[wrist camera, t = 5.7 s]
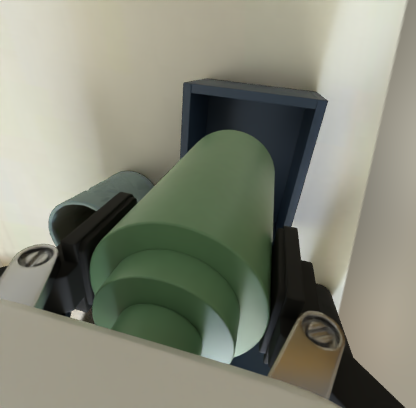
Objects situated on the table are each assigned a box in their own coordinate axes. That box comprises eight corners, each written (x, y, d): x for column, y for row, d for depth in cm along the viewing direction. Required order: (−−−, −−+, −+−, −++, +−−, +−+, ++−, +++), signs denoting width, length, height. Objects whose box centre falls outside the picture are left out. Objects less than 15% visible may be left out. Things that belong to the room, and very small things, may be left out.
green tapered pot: (109, 155, 39) (47, 188, 29) (172, 181, 39) (132, 224, 28) (102, 210, 44) (48, 255, 34) (158, 234, 44) (119, 286, 33)
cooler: (205, 78, 31) (183, 82, 24) (316, 91, 29) (328, 100, 22) (195, 208, 40) (176, 239, 33) (280, 225, 38) (280, 263, 30)
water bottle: (189, 122, 18) (-241, 425, 3) (284, 137, 17) (327, 683, 2) (184, 204, 21) (-42, 549, 6) (264, 220, 20) (224, 675, 5)
